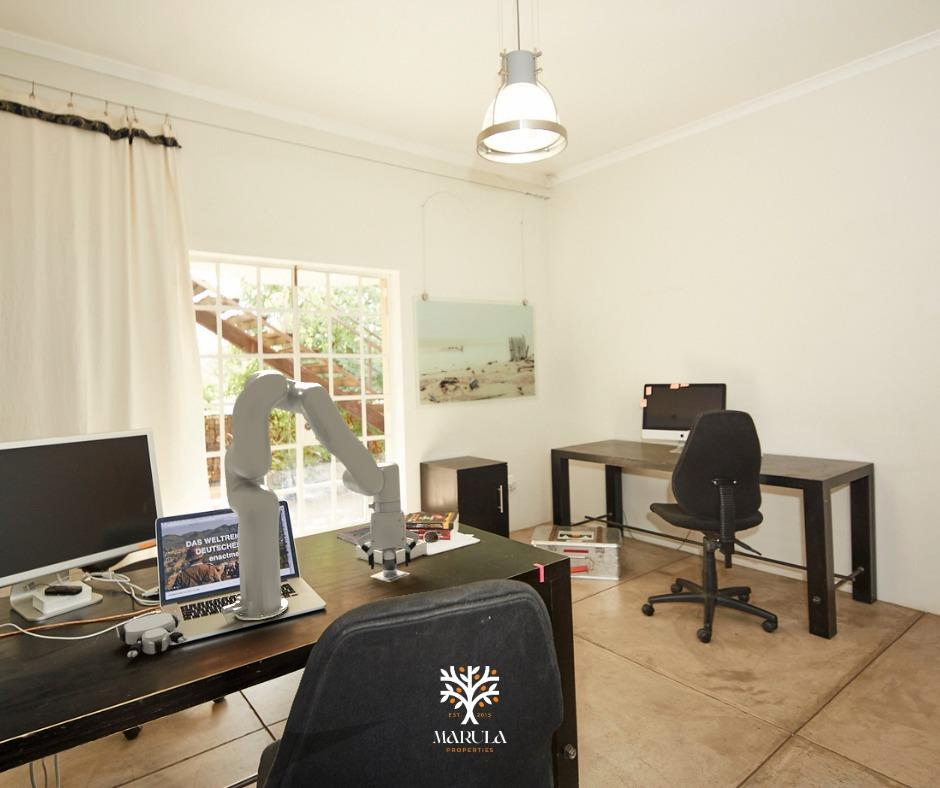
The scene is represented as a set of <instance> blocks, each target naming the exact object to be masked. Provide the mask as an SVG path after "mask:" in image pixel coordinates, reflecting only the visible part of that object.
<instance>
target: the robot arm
mask: <svg viewBox="0 0 940 788" xmlns="http://www.w3.org/2000/svg"><path fill="white" fill-rule="evenodd" d="M274 409H278V410H282V411H285V412H290V413H295V414H298V415H299V414H300V415H302V416H303V418H304V420H305V421H306V423H307V424H308V427H310V429H311V431H312V432H313V434H314V436H315V438H316V439H317V441H318V442H319V444H320V445H321V447H323V448H324V449H325V450H326V452H328V454H329V453H330V454H331V455H332V456H333V457H335V458H336V459H337V460H338V461H339V462H341V463H342V465H343V466H344V467H345V468H346V469H345V470H344V471H343V474H342V478H341V479H342V483H343V485H344V486H345V488H346V489H348V491H351V492H354V493H356V494H360V495H363V496H366V497H373V502H371V503H368V509H371V510H373V511H372V512H371V513H370V520H369V523H370V524H369V525H370V532H369V533H367V534H365V535H364V536H362V537H360V538H359V539H358V543H359V545H360V546H361V548H362V550H363V551H365V552H366V553H367V555H368V560H367V561H368V566H370V570H373V569H374V568H375V562H374V553H373V551H374V550H375V549H388V548H396V549H397V548H398V549H405V550H406V551H405V561H404V562H405V567H409V563H411V559H410V552H411V550H412V549H413V548H414V547H415V546H416V544H417V542H418V540H420V535H419V533H416V532H414V531H413V530H412V531H409V530H407V529H406V527H407V523H406V522H407V521H406V516H405V512H404V509H402V507H401V505H402V504H401V503H402V502H401V483H400V482H401V481H400V478H401V477H400V466H399V464H398V463H396V462H392V461H387V462H385V461H384V462H383V461H382V462H378V463H377V461H376V460H375V458H374V457H373V455H372V453H371V452H370V451H369V449H368V448H367V447H366V446H365V445H364V443H363V442H362V441H361V440H360V439H359V437H357V435H356V434H355V433H354V432H353V431H352V430H351V429H350V427H349V426H348V424H347V422H346V420H345V419H344V417H343V415H342V414H341V412H340V410H339V409H338V407H337V406H336V403H335V402H334V401H333V399H332V396H331V395H330V393H329V392H328V391H327V389H326V388H325V386H322V385H321V384H319V383H317V382H300V381H296V380H292V379H289V378H287V377H286V375H285V374H284V373H282V372H280V371H278V370H274V369H272V370H271V369H268V370H267V369H265V370H259V371H255V372H252V373H251V374H250V375H249V376H248V377H247V378H246V380H245V381H244V386H243V389H242V390H241V392H240V393H239V394H238V397H237V398H236V401H235V402H234V405H233V408H232V414H231V415H232V416H231V418H232V419H231V426H232V427H231V428H232V433H231V434H232V443H231V444H230V445H229V446H228V448H227V449H226V451H225V454H224V477H225V485H226V487H225V488H226V489H225V490H226V497H227V503H228V505H229V508H230V510H231V511H232V512H233V513H234V514H235V515H236V516H237V518H238V521H237V523H238V524H237V525H238V527H237V552H238V573H239V589H240V594H239V595H238V596H237V597H235V598H236V601H234V602H233V603H232V604H228V605H224V606H223V607H221V609H220V612H221V614H222V616H227V615H228V614H232V615H233V616H235V614H236V615H237V616H239V617H243V618H261V617H266V616H271V615H275V614H278V613H279V612H281V611H283V610H285V609H286V608H287V606H288V607H289V601H288V600H287V599H285V598H283V597H282V583H281V582H282V581H281V577H282V576H281V562H280V561H281V560H280V540H279V539H280V538H279V535H280V533H279V525H280V524H279V523H280V513H281V512H280V511H281V507H280V501H279V497H278V496H277V494H276V493H275V492H276V491H274V490H273V489H272V488H271V487H269V486H267V485H265V477H266V476H267V475H268V474H269V472H270V471H271V468H272V464H273V457H272V456H273V455H272V448H271V447H272V446H271V438H270V437H271V436H270V416H271V413H272V411H273V410H274ZM408 537H409V538H410V537H411V538H412V539H413V541H412V542H411V543H410V545H409V544H408V543H407V538H408ZM369 538H370V545H371V546H370V547H368V546H367V545H365V543H364V541H365V540H367V539H369ZM401 547H403V548H401ZM240 614H242V615H240ZM261 615H263V616H261Z"/></svg>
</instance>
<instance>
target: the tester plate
mask: <svg viewBox="0 0 940 788" xmlns="http://www.w3.org/2000/svg"><path fill="white" fill-rule="evenodd" d="M410 574H411V573H410V572H406V571H403V570H402V571H401V570H399V569H397V575H396V576H394V577H384V576H383V570H382V571H380V572H378V573H375V574H372V575H370V576H369V577H370V578H374V579H377V580H380V581H384V582H387V583H391V582H394V581H396V580H398V579H401V578H404V577H405V576H408V575H410Z"/></svg>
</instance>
